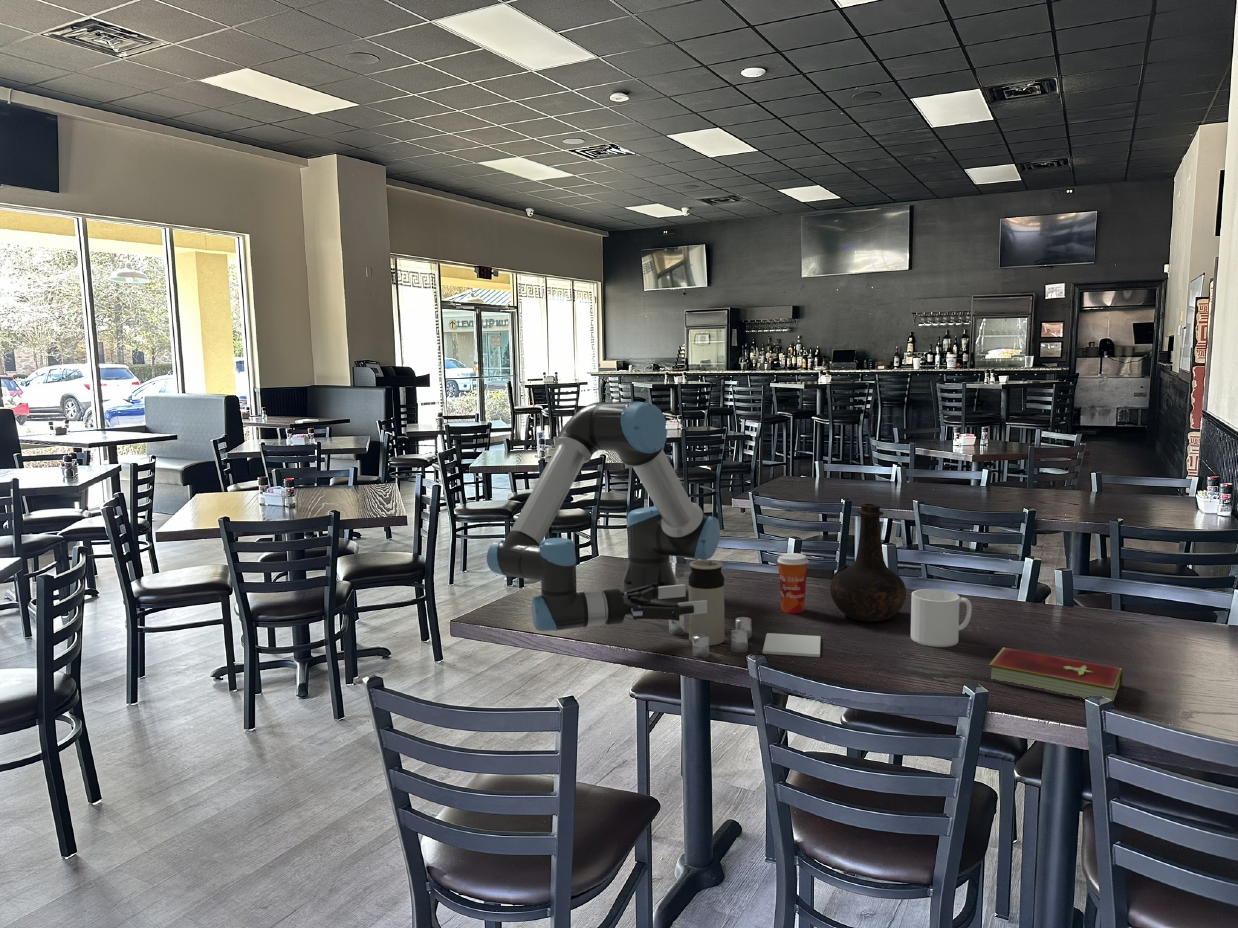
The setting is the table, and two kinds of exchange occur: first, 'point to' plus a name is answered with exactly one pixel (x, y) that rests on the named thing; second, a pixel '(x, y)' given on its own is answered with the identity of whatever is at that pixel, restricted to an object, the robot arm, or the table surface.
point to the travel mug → (710, 587)
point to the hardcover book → (1056, 673)
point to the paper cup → (792, 581)
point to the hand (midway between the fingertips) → (695, 598)
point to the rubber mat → (792, 645)
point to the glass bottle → (868, 576)
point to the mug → (937, 617)
